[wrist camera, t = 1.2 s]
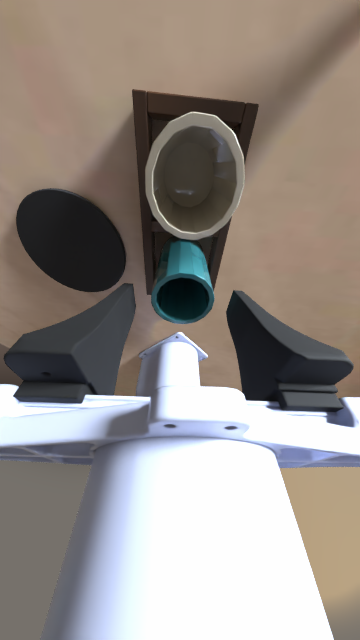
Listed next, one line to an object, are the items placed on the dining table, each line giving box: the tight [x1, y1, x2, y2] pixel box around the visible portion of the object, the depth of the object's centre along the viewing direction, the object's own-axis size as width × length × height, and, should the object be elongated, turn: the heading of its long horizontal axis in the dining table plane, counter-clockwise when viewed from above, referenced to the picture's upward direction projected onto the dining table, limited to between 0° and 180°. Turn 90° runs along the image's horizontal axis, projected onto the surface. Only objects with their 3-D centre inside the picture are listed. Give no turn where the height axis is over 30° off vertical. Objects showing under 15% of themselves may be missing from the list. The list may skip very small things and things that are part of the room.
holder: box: [132, 89, 259, 295], centre depth 15 cm, size 7×14×2 cm, turn 176°
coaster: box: [16, 188, 126, 292], centre depth 17 cm, size 10×10×1 cm
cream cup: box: [145, 112, 245, 240], centre depth 11 cm, size 4×4×8 cm
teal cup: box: [151, 236, 214, 324], centre depth 15 cm, size 4×4×8 cm
